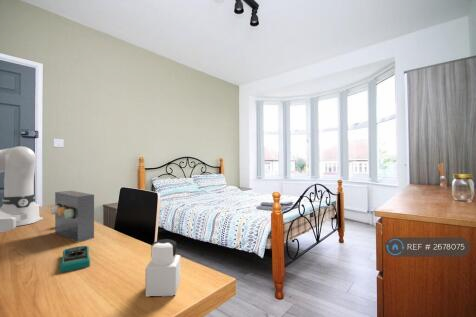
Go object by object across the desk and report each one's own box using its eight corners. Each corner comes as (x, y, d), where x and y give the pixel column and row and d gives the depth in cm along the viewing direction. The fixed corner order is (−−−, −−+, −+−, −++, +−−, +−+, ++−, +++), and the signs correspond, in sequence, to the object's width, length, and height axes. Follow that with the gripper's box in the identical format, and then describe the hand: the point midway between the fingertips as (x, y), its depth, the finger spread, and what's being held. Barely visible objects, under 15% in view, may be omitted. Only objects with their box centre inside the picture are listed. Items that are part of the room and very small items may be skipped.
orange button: (57, 215, 97) (57, 207, 97) (64, 214, 99) (64, 206, 99) (60, 217, 95) (60, 208, 95) (67, 215, 97) (67, 207, 97)
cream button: (51, 213, 100) (51, 205, 100) (57, 212, 102) (57, 204, 102) (54, 214, 98) (54, 206, 98) (61, 213, 100) (61, 205, 100)
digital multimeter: (88, 252, 83) (88, 243, 83) (90, 268, 71) (89, 258, 71) (63, 256, 79) (63, 248, 79) (59, 274, 67) (59, 264, 67)
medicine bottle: (153, 282, 62) (153, 237, 62) (180, 280, 63) (180, 236, 63) (145, 297, 55) (145, 247, 55) (175, 296, 56) (175, 246, 56)
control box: (55, 232, 104) (55, 192, 104) (70, 229, 109) (70, 190, 109) (77, 242, 92) (77, 196, 92) (94, 237, 97) (94, 194, 97)
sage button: (63, 218, 93) (63, 209, 93) (70, 216, 95) (70, 207, 95) (67, 219, 91) (67, 210, 91) (74, 218, 93) (74, 209, 93)
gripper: (-41, 229, 76) (16, 220, 87) (-28, 242, 65) (36, 229, 76) (-41, 210, 76) (16, 203, 87) (-28, 219, 65) (36, 210, 76)
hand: (25, 215), depth 82 cm, fingers closed
